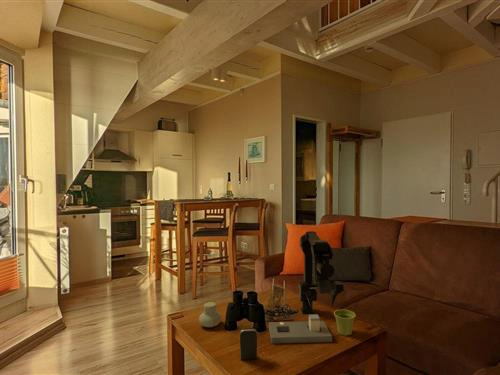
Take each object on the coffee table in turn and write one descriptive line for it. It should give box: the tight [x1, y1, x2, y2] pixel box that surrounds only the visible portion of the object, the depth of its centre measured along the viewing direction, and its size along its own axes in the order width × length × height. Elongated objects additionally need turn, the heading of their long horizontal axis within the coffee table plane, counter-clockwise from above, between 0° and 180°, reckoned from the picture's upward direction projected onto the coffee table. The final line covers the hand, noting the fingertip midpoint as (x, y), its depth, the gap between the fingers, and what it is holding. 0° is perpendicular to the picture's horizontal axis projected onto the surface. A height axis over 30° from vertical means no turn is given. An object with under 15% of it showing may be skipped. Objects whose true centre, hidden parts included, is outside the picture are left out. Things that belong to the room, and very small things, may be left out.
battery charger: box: [239, 327, 258, 361], centre depth 120 cm, size 7×4×11 cm, turn 94°
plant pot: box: [333, 309, 356, 337], centre depth 138 cm, size 9×9×9 cm
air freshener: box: [198, 301, 223, 328], centre depth 147 cm, size 11×8×10 cm
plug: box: [308, 313, 321, 332], centre depth 137 cm, size 4×4×8 cm
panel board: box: [268, 320, 333, 344], centre depth 137 cm, size 14×26×3 cm, turn 91°
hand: (321, 306), depth 132 cm, fingers open, 9 cm apart
